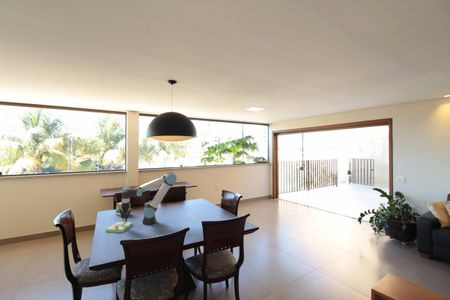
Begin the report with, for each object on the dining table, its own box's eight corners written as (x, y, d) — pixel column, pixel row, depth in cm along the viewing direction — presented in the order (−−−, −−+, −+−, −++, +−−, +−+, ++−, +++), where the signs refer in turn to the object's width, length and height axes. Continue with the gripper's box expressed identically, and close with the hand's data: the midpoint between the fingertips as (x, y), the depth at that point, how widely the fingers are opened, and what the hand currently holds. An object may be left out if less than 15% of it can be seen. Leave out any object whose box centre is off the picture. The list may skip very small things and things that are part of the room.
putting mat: (132, 225, 233) (132, 222, 233) (122, 232, 211) (122, 229, 211) (117, 224, 233) (117, 221, 234) (105, 231, 211) (105, 229, 212)
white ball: (125, 223, 224) (122, 221, 224) (123, 224, 220) (120, 222, 220) (123, 225, 224) (121, 224, 224) (121, 226, 220) (119, 225, 220)
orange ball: (119, 228, 215) (119, 224, 215) (117, 229, 211) (117, 226, 211) (115, 228, 215) (115, 224, 215) (113, 229, 211) (114, 225, 211)
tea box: (115, 214, 268) (115, 203, 268) (122, 212, 277) (122, 201, 277) (123, 216, 261) (124, 204, 262) (130, 214, 271) (130, 203, 271)
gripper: (133, 201, 226) (132, 223, 225) (121, 201, 226) (120, 223, 226) (130, 203, 218) (129, 226, 218) (117, 202, 219) (116, 225, 218)
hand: (124, 224), depth 222 cm, fingers closed
